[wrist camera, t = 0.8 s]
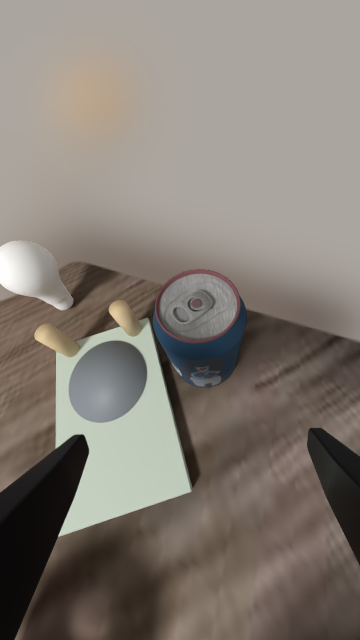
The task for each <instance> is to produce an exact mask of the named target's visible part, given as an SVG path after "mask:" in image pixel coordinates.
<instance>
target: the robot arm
mask: <svg viewBox="0 0 360 640" xmlns="http://www.w3.org/2000/svg"><path fill="white" fill-rule="evenodd" d="M307 447H308V451H309V454H310V457H311V459H312V462H313V464H314V467H315V469H316V472H317V475H318V477H319V480H320V482H321V485H322V488H323V490H324V493H325V495H326V498H327V500H328V502H329V504H330V506H331V508H332V510H333V512H334V514H335V516H336V518H337V520H338V522H339V524H340V526H341V528H342V530H343V532H344V535H345V537H346V539H347V541H348V543H349V545H350V547H351V549H352V551H353V553H354V555H355V557H356V559H357V561H358V563H359V565H360V456H358V455H357V454H356V453H354V452H353V451H352V450H350V449H349V448H348V447H346V446H345V445H344V444H342V443H341V442H340V441H338V440H337V439H336V438H334V437H333V436H331V435H330V434H329V433H327V432H326V431H325V430H323V429H322V428H310V429H309V431H308V441H307ZM88 455H89V447H88V444H87V441H86V438H85V436H84V435H83V434H75V435H73V436H71V437H70V438H69V439H68V440H66V441H65V442H64V443H63V444H61V445H60V446H59V447H58V448H56V449H55V450H54V451H52V452H51V453H50V454H49V455H47V456H46V457H45V458H44V459H42V460H41V461H40V462H39V463H37V464H36V465H35V466H34V467H32V468H31V469H30V470H28V471H27V472H26V473H25V474H23V475H22V476H21V477H20V478H18V479H17V480H16V481H15V482H13V483H12V484H11V485H9V486H8V487H7V488H6V489H4V490H3V491H2V492H1V493H0V640H15V637H16V635H17V633H18V630H19V628H20V625H21V623H22V621H23V618H24V616H25V614H26V611H27V609H28V606H29V604H30V602H31V599H32V597H33V595H34V592H35V590H36V588H37V585H38V583H39V580H40V578H41V576H42V573H43V571H44V569H45V566H46V564H47V562H48V559H49V557H50V554H51V552H52V550H53V547H54V545H55V543H56V540H57V538H58V536H59V533H60V531H61V528H62V526H63V524H64V521H65V519H66V517H67V514H68V512H69V509H70V507H71V505H72V502H73V500H74V497H75V495H76V492H77V489H78V486H79V483H80V480H81V477H82V474H83V471H84V468H85V465H86V462H87V459H88Z"/></svg>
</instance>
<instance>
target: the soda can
mask: <svg viewBox="0 0 360 640" xmlns="http://www.w3.org/2000/svg"><path fill="white" fill-rule="evenodd" d="M246 322H247V313H246V308H245V305H244V303H243V301H242V299H241V297H240V296H239V293H238V291H237V289H236V287H235V286H234V284H233V283H232V282H231V281H230V280H228V278H226V277H225V276H223V275H221V274H219V273H217V272H214V271H210V270H200V269H198V270H189V271H185V272H182V273H180V274H178V275H176V276H174V277H173V278H172V279H170V280H169V281H168V282H167V283H166V284H165V285H164V286H163V287H162V288H161V290H160V292H159V293H158V296H157V299H156V303H155V310H154V314H153V327H154V331H155V334H156V336H157V338H158V340H159V342H160V344H161V345H162V347H163V349H164V350H165V352H166V354H167V356H168V357H169V359H170V361H171V363H172V364H173V366H174V368H175V369H176V371H177V373H178V374H179V376H180V377H181V378H182V379H183V380H184V381H186V382H187V383H189V384H191V385H193V386H197V387H203V388H206V387H213V386H216V385H219V384H221V383H222V382H224V381H225V380H226V379H228V378H229V376H230V375H231V374H232V372H233V371H234V368H235V366H236V362H237V358H238V354H239V350H240V346H241V343H242V339H243V335H244V331H245V327H246Z"/></svg>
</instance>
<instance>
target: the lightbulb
mask: <svg viewBox="0 0 360 640" xmlns="http://www.w3.org/2000/svg"><path fill="white" fill-rule="evenodd" d="M0 284H1V285H2V286H4V287H5V288H6V289H8V290H10V291H12V292H14V293H16V294H20V295H25V296H32V297H37V298H40V299H42V300H43V301H45V302H46V303H48V304H52V305H53V306H55V307H56V308H58V309H59V310H67V309H69V308H70V307H71V306H72V304H73V301H74V300H73V297H72V296H71V295H70V294H69V293H68V291H67V289H66V287H65V286H64V285H63V283H62V282H61V280H60V278H59V271H58V267H57V264H56V261H55V259H54V257H53V256H52V254H51V253H50V252H49V251H48V250H46V249H45V248H44V247H42V246H41V245H39V244H36V243H33V242H30V241H24V240H18V241H11V242H8V243H6V244H4V245H2V246H1V247H0Z"/></svg>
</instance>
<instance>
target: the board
mask: <svg viewBox="0 0 360 640" xmlns="http://www.w3.org/2000/svg"><path fill="white" fill-rule="evenodd" d="M109 313H110V314H111V315H112V317H113V318H114V319H115V320H116V321H117V323H118V324H119V325H120V327H117V328H114V329H111V330H108V331H105V332H102V333H99V334H96V335H93V336H90V337H87V338H84V339H81V340H78V341H74V340H73V339H71V338H70V337H68V336H67V335H65V334H64V333H62V332H61V331H60V330H58V329H57V328H55V327H54V326H52V325H51V324H43V325H41V326H40V327H39V328H38V329H37V330H36V332H35V339H36V340H37V341H39V342H41V343H43V344H44V345H46V346H48V347H50V348H52V349H54V350H55V351H56V448H58V447H59V446H60V445H61V444H63V443H64V442H65V441H66V440H68V439H69V438H70V437H71V436H73V435H75V434H83V435H84V436H85V438H86V441H87V444H88V447H89V455H88V459H87V462H86V465H85V468H84V471H83V474H82V477H81V480H80V483H79V486H78V489H77V492H76V495H75V497H74V500H73V502H72V505H71V507H70V509H69V512H68V514H67V517H66V519H65V521H64V524H63V526H62V528H61V531H60V533H59V536H62V535H65V534H68V533H71V532H74V531H76V530H79V529H82V528H85V527H88V526H91V525H94V524H97V523H100V522H103V521H106V520H109V519H112V518H115V517H118V516H121V515H124V514H127V513H130V512H133V511H135V510H138V509H141V508H144V507H147V506H150V505H153V504H156V503H159V502H162V501H165V500H168V499H171V498H174V497H177V496H180V495H183V494H186V493H189V492H191V491H192V489H193V488H192V485H191V481H190V477H189V473H188V469H187V465H186V461H185V457H184V453H183V449H182V445H181V441H180V437H179V433H178V429H177V425H176V421H175V417H174V413H173V409H172V405H171V402H170V398H169V394H168V390H167V386H166V382H165V378H164V374H163V370H162V366H161V362H160V358H159V354H158V350H157V346H156V342H155V338H154V334H153V330H152V326H151V322H150V320H149V319H148V318H145V319H142V320H139V321H138V319H137V318H136V316H135V315H134V313H133V312H132V310H131V309H130V307H129V306H128V304H127V303H126V302H125V301H124V300H117V301H115V302H113V303H112V304H111V305H110V307H109ZM59 536H58V537H59Z"/></svg>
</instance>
